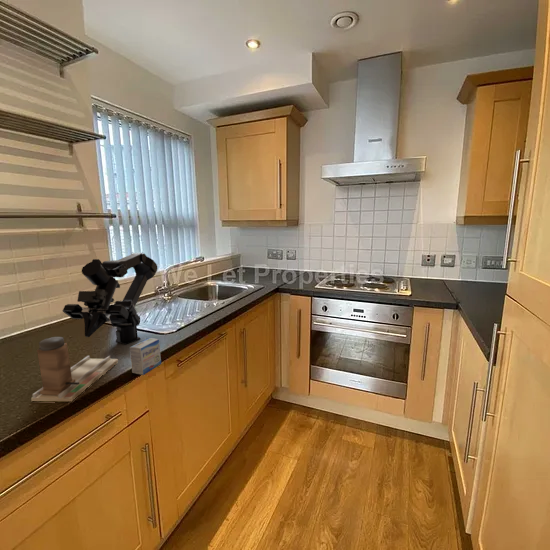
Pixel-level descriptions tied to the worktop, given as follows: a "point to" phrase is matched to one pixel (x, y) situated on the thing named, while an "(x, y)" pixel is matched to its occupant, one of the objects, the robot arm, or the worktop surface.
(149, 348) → the medicine box
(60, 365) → the post
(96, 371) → the scale board
